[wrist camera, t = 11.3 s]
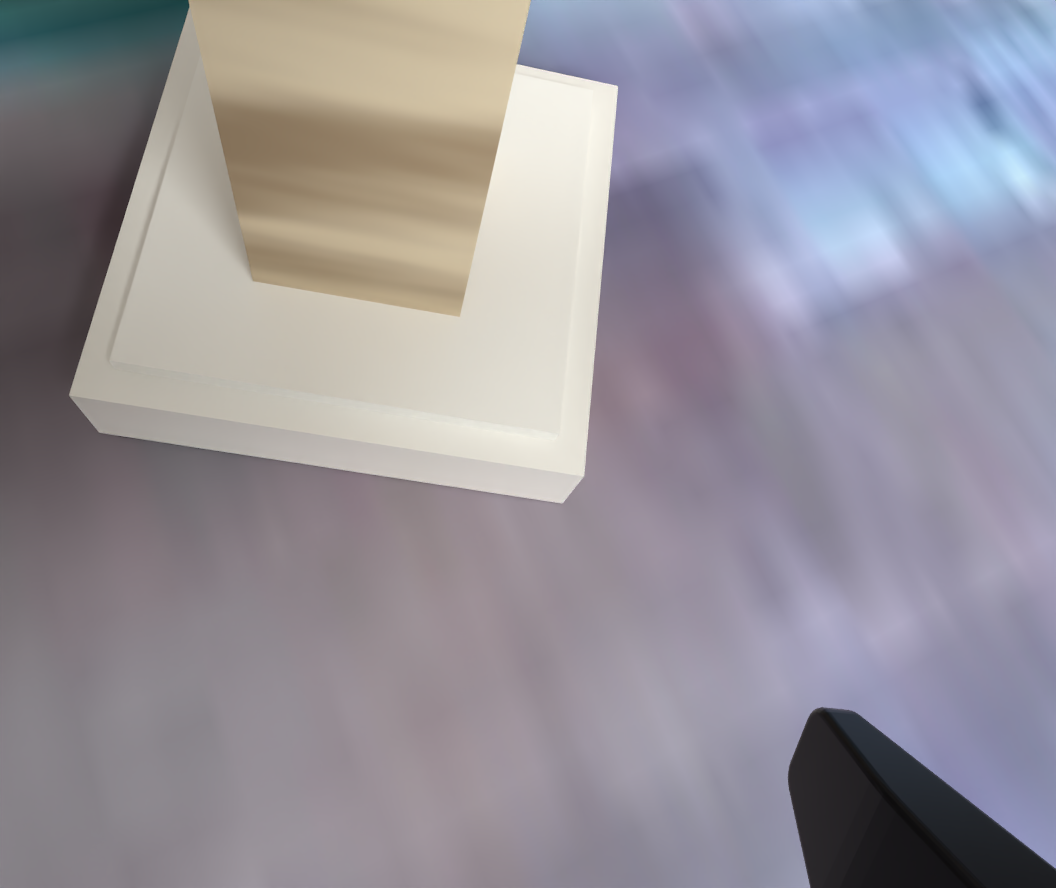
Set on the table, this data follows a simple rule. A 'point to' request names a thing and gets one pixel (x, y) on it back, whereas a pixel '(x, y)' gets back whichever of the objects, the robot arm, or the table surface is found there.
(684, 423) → the table surface
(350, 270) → the birch block
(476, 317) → the ceramic plinth
